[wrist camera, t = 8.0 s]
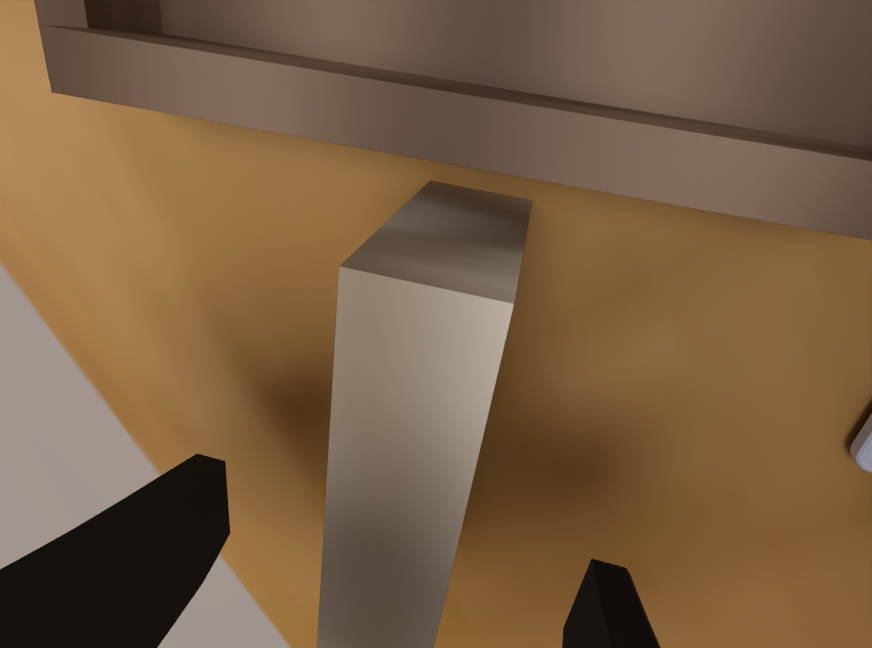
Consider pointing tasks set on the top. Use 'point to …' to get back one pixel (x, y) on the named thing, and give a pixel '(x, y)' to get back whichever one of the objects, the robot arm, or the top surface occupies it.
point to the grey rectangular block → (412, 408)
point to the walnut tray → (519, 88)
